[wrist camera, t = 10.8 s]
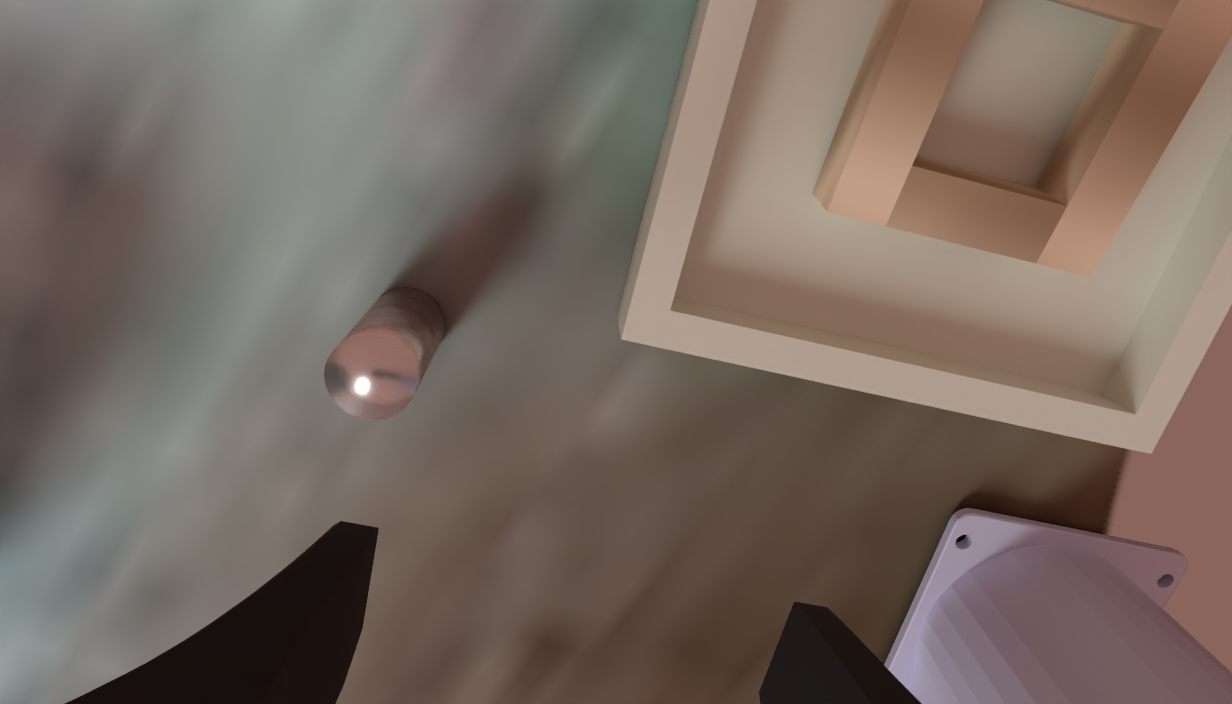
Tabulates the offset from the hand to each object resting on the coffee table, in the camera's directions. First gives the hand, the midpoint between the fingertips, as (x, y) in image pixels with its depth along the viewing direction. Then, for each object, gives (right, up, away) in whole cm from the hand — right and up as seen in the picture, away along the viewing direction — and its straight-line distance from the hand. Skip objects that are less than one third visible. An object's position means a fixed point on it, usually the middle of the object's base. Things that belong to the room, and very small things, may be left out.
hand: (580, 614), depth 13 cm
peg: (-5, +5, +8) cm, 11 cm away
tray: (+10, +11, +7) cm, 16 cm away
